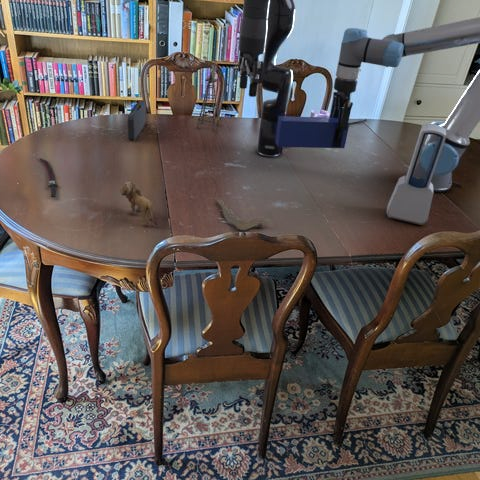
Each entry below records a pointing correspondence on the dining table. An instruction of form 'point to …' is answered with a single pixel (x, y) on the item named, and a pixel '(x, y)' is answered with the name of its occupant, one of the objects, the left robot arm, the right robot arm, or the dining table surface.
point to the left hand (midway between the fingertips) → (247, 92)
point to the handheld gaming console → (136, 120)
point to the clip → (322, 114)
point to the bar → (307, 132)
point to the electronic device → (416, 183)
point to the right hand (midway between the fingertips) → (333, 143)
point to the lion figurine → (137, 201)
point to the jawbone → (237, 221)
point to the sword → (52, 181)
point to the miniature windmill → (210, 80)
